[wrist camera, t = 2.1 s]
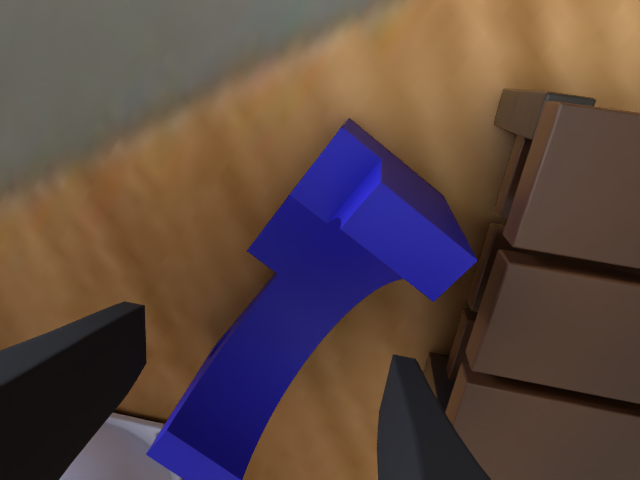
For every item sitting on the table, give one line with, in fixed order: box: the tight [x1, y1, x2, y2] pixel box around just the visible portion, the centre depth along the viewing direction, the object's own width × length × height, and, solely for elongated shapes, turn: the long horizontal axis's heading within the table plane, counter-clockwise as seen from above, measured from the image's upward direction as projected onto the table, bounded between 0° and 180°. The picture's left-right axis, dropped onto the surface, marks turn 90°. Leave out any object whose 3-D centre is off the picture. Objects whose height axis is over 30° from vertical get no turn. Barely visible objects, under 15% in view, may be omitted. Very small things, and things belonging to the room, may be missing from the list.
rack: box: [423, 89, 640, 480], centre depth 13 cm, size 10×12×6 cm
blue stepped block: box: [146, 118, 478, 480], centre depth 15 cm, size 12×4×6 cm, turn 142°
